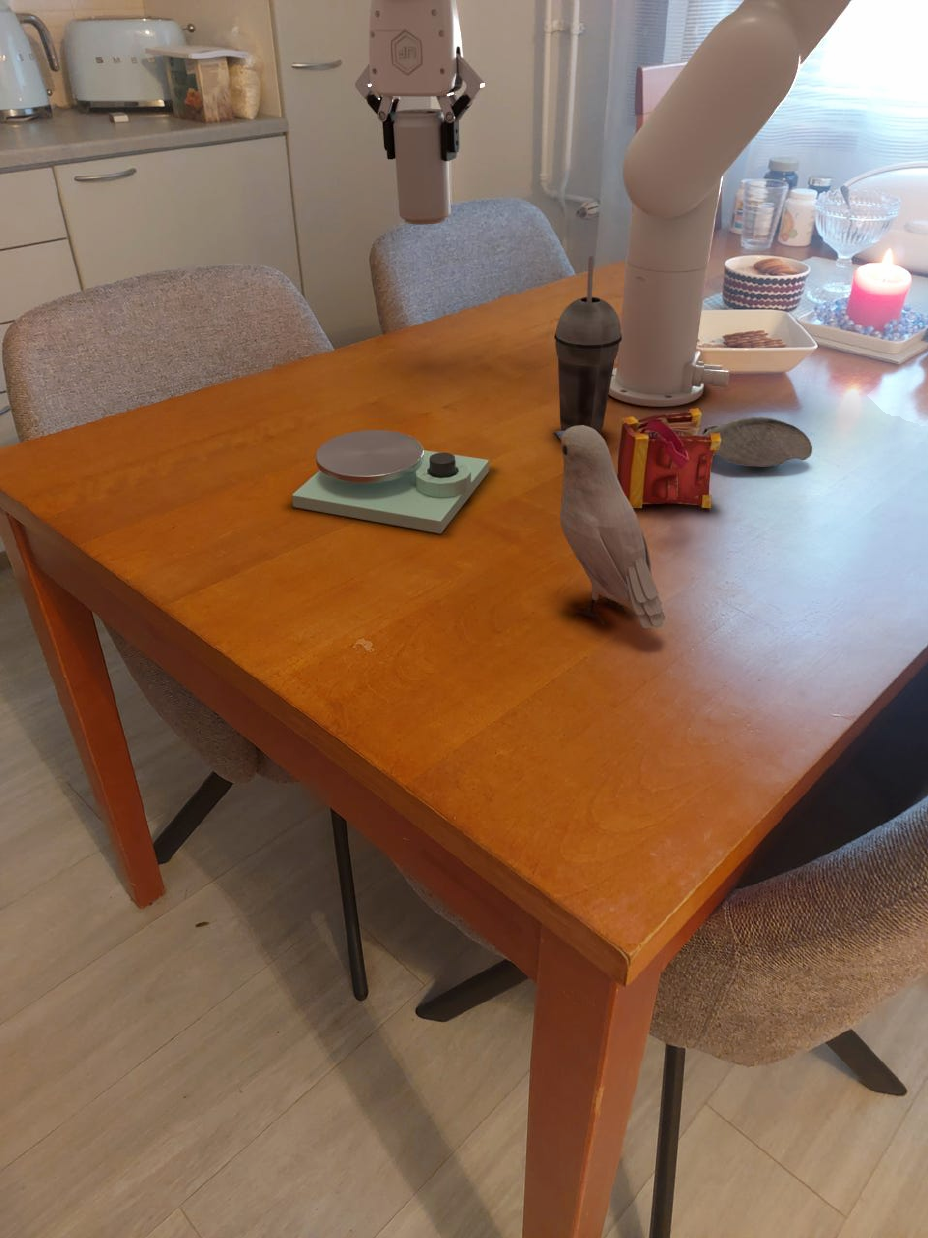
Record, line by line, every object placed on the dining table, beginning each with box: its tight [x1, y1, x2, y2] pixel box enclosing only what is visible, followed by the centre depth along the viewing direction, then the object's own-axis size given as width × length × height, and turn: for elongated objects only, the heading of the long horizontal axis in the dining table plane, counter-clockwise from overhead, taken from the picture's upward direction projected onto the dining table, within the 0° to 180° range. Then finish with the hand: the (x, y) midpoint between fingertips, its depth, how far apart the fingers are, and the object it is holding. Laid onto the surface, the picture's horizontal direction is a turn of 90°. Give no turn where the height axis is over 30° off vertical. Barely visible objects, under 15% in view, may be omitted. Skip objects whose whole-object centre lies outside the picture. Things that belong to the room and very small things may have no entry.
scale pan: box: [315, 429, 425, 483], centre depth 91 cm, size 11×11×1 cm
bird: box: [552, 425, 666, 629], centre depth 70 cm, size 5×14×15 cm, turn 36°
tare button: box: [429, 452, 456, 478], centre depth 89 cm, size 3×3×2 cm
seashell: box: [700, 416, 813, 468], centre depth 96 cm, size 12×8×5 cm
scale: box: [291, 449, 490, 535], centre depth 92 cm, size 16×14×3 cm
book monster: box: [616, 408, 721, 509], centre depth 86 cm, size 11×9×12 cm
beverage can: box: [393, 108, 452, 226], centre depth 108 cm, size 6×6×12 cm
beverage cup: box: [553, 255, 622, 436], centre depth 97 cm, size 7×7×20 cm
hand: (422, 156), depth 107 cm, fingers closed on beverage can, 6 cm apart
